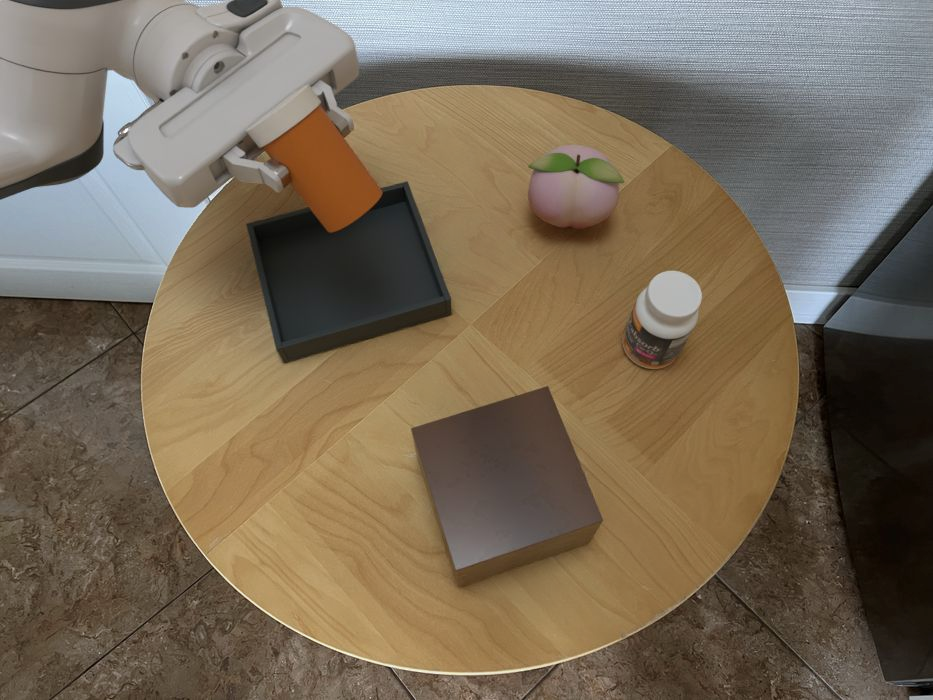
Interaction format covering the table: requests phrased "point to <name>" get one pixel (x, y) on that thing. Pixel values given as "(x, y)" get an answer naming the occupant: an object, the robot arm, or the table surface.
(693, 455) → the table surface
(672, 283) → the pill bottle
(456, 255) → the table surface
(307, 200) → the amber pill bottle
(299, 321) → the slate tray
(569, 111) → the table surface
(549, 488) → the walnut block
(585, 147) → the decorative fruit
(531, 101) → the table surface
